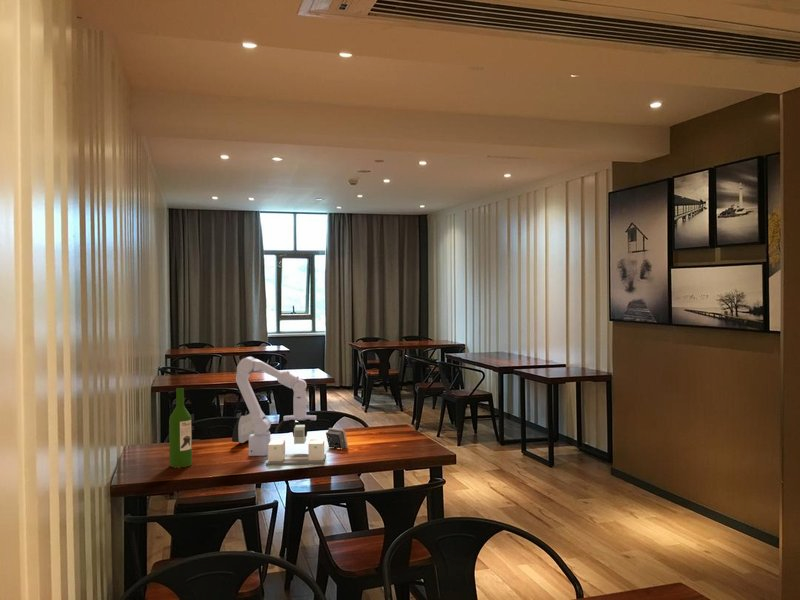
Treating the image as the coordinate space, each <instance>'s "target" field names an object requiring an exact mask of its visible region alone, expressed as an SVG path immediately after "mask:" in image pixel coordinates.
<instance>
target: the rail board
mask: <svg viewBox="0 0 800 600" xmlns="http://www.w3.org/2000/svg"><path fill="white" fill-rule="evenodd" d="M307 445H308V450H307V451H308V453H307V454H306V453H297V454H296V453H292V454H290V453H288V454H286V439H284V440H283V439H279V440H277V439H273V440H271V439H270V443H269V444H268V456H267V457H268V459H267V460H266V462H265V466H300V465H301V466H305V465H307V466H309V464H313V465H324V464H323V463H325V461H326V458H325V457H327V453H325V439H324V438H322V439H310V440H309V441H308V444H307ZM324 460H325V461H324Z"/></svg>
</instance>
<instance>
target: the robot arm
mask: <svg viewBox="0 0 800 600" xmlns="http://www.w3.org/2000/svg"><path fill="white" fill-rule="evenodd" d="M252 372H263V373H266V374H267V375H270V376H271V377H274V378H276V380H277V382H278V383H279V384H280V385H283V386H284V387H287V388H289V389H292V390H293V401H292V402H293V403H292V404H293V407H292V408H293V414H291V415H290V414H289V415H284V416H283V421H284V422H286V421H288V425H289V427H290V429H291V432H292V436H293V438H294V427H295V426H296V421H304V425H305V437H306V438H307V436H308V431H309V427H310V425H311V422H312V421H316V420H317V415H313V414H312V415H311V414H307V392H306V389H307V386H308V385H307V381H306V380H304V379H303V378H300V377H299V376H295V375H294V374H291V372H290V371H289V370H283V371H282V370H281V371H280V370H279V369H276V368H274V367H273V366H271V365H269V364H268V363H266V362H265V361H262V360H260V359H258V358H255V357H253V356H247V357H244V358H242V359H240V360H239V362H238V364H237V366H236V375H235V381H236V384H237V387H238V389H239V391H240V394H241V396H242V398H243V400H244V402H245V404H246V407H247V409H248V413H249V412H250V414H251V416H252V422H253V430H254V432H255V433H254V434H251V435H250V436H249V442H248V457H257V456H259V457H260V456H264V457H265V456H267V457H268V444H269V443H270V441H271V432H270V430H269V429H270V428H271V427H272V423H271V420H270V419H269V418H268V417H267V416H266V414H265V413H264V411H263V410H262V408H261V405H260V404H259V401H258V399H257V396H256V395H255V392H254V390H253V387H252V385H251V383H250V381H249V378H250V376H251V374H252Z"/></svg>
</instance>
